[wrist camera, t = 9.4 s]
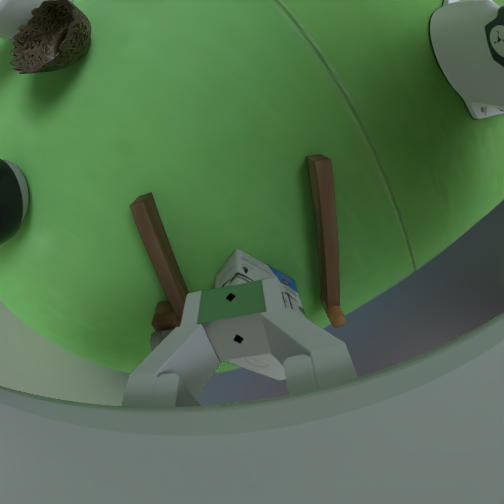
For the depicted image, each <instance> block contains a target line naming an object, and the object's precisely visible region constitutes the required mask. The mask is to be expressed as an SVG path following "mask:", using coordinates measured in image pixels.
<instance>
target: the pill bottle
mask: <svg viewBox="0 0 504 504" xmlns="http://www.w3.org/2000/svg"><path fill="white" fill-rule="evenodd" d="M43 1H46V0H0V37H1V38H8V39H12V37H13V36H14V35H16V34H17V33H19V32H20V31H19V26H21V25H25V24H27V23H28V21H29V19H31V18H32V17H33V16H34V15H32V13H31V11H32V10H33V9H35V8H39V6H40V5H41V3H42V2H43ZM69 1H71V2H72V0H69Z"/></svg>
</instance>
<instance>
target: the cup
mask: <svg viewBox="0 0 504 504" xmlns="http://www.w3.org/2000/svg"><path fill="white" fill-rule="evenodd" d="M31 13H32V15H34V16H33V17H32V18H31V19H29V21H28V23H27V24H25V25H21V26H19V31H20V32H19V33H17V34H16V35H14V36H13V37H12V42H13V44H14V46H15V48H14V49H12V50H11V51H10V54H11V55H14V56H16V57H15V58H14V59H13V60H12V61H11V62H10V63H11V64H12V65H14V68H13V69H14V70H16V71H20V72H19V74H26V73H28V74H29V73H38V72H48V71H55V70H59V69H62V68H65V67H67V66H68V65H70V64H72V63H73V62H74V61H76V60H77V59H79V58H80V57H82V56H83V55H84V54H85V53H86V52H87V51H88V49H89V47H90V45H91V25H90V22H89V20H88V18H87V17H86V16H85V15H84V13H83V12H82V11H80V10H79V9H78V8H77V7H76V6H75V5H74V4H72V2H71V1H69V0H46V1H43V2H42V3H41V5H40V6H39V8H35V9H33V10H32V11H31Z"/></svg>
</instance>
